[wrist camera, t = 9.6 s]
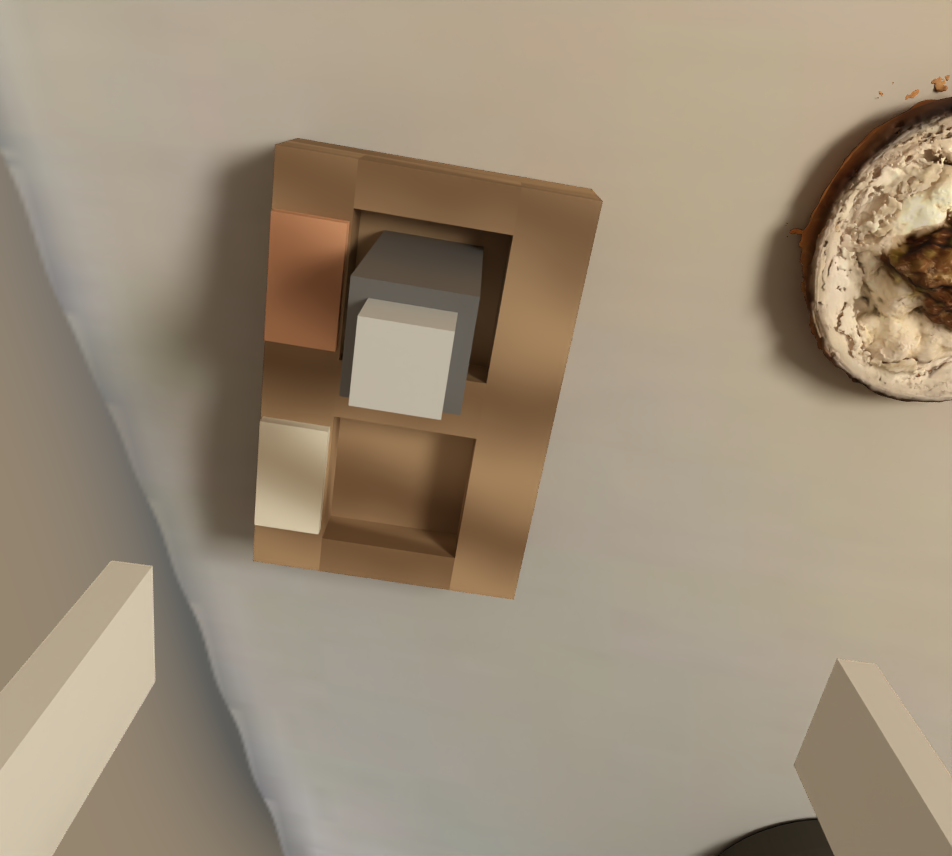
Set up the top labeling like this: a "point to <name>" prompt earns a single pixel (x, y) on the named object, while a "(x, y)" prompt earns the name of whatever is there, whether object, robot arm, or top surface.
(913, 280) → the bagel
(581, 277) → the socket board
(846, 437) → the top surface
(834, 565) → the top surface
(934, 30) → the top surface
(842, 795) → the robot arm
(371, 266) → the plug
